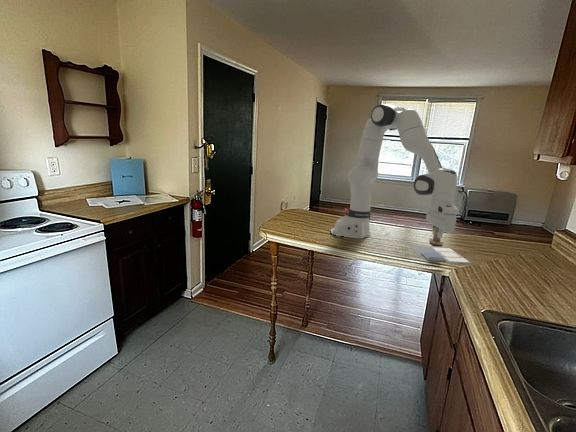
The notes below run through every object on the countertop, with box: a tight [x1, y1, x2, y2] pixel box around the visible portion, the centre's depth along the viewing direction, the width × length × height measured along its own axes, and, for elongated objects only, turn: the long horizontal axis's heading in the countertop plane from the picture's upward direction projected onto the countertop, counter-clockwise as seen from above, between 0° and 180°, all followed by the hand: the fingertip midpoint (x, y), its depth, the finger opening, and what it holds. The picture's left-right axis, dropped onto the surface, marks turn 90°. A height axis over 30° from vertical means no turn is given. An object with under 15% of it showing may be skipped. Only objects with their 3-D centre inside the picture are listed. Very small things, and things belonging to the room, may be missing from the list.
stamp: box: [428, 227, 445, 248], centre depth 140 cm, size 4×4×8 cm
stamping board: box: [409, 245, 473, 264], centre depth 147 cm, size 20×20×2 cm
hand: (436, 236), depth 140 cm, fingers closed on stamp, 3 cm apart
